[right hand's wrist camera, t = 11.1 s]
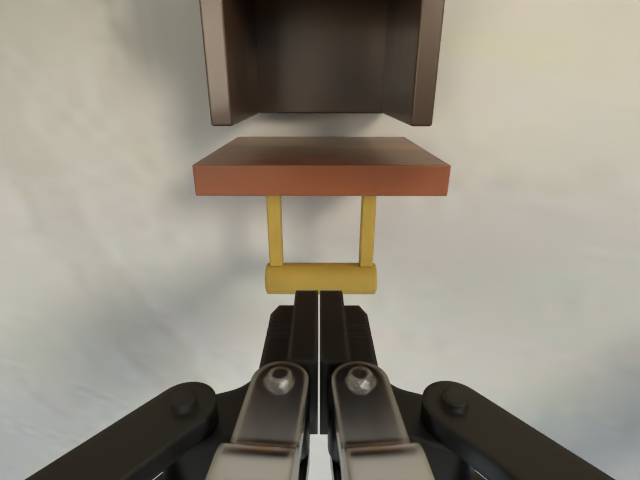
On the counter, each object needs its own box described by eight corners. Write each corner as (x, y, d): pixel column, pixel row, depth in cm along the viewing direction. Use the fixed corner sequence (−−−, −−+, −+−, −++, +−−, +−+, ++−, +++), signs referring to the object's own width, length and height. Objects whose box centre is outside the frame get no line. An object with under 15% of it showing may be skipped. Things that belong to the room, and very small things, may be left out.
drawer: (396, 243, 25) (431, 318, 17) (245, 243, 25) (210, 317, 17) (434, -236, 17) (539, -529, 9) (209, -236, 17) (108, -530, 9)
